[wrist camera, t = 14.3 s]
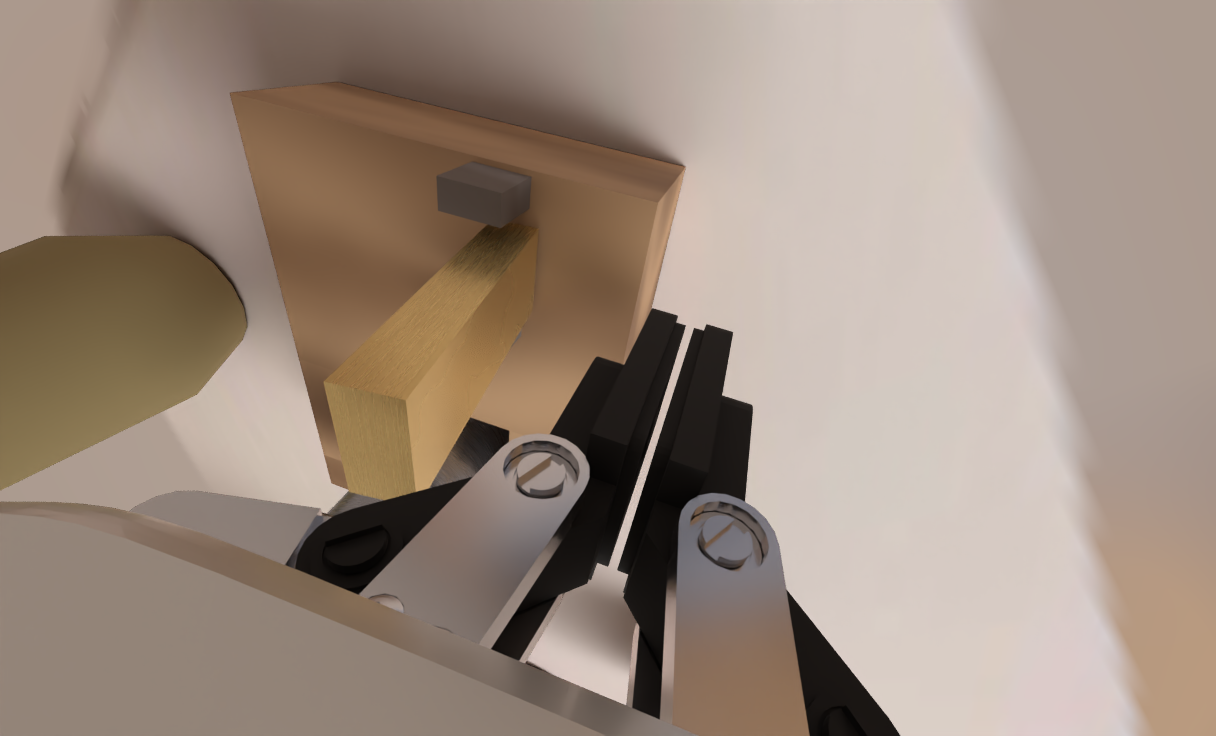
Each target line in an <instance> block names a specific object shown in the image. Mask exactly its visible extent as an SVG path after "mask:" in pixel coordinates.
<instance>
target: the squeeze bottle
mask: <svg viewBox="0 0 1216 736" xmlns="http://www.w3.org/2000/svg"><path fill="white" fill-rule="evenodd" d="M246 329H247V323H246V318H245V312H244V307H243V305H242V303H241V302H240V300H239V298H238V296H237V294H236V292H235V290H234V288H233V286H232V285H231V284H230V282H229V281H228V280H227V279H226V278H225V276H224V275H223V274H222V273H221V272H220V270H219V269H218V268H217V267H216V266H215V264H214V263H213V262H211V261H210V260H209V259H208V258H206V257H205V256H204V255H203V254H201V253H200V252H199V251H198V250H196V249H195V248H194V247H192V246H191V245H189V244H187V243H184V242H182V241H180V240H178V239H175V238H173V237H171V236H44V237H41V238H39V239H36V240H33V241H31V242H28V243H25V244H23V245H20V246H17V247H15V248H12V249H9V250H7V251H4V252H1V253H0V490H2V489H4V488H6V487H9V486H11V485H13V484H15V483H17V482H19V481H21V480H23V479H25V478H27V477H29V476H31V475H33V474H35V473H37V472H39V471H41V470H43V469H45V468H47V467H50V466H51V465H54V464H56V463H58V462H60V461H62V460H64V459H66V458H68V457H70V456H72V455H74V454H76V453H78V452H80V451H82V450H84V449H86V448H88V447H90V446H92V445H94V444H97V443H99V442H101V441H103V440H105V439H107V438H109V437H111V436H113V435H115V434H117V433H119V432H121V431H123V430H125V429H127V428H129V427H131V426H133V425H135V424H138V423H140V422H142V421H143V420H146V419H148V418H150V417H152V416H154V415H156V414H158V413H160V412H162V411H164V410H166V409H168V408H170V407H172V406H174V405H177V404H179V403H181V402H183V401H185V400H187V399H189V398H191V397H193V396H195V395H197V394H198V393H199V391H200V390H201V389H202V388H203V387H204V385H205V384H206V383H207V382H208V381H209V379H210V378H211V377H212V376H213V375H214V373H215V372H216V371H217V370H218V369H219V367H220V366H221V365H222V364H223V363H224V361H225V360H226V359H227V358H228V357H229V356H230V354H231V353H232V352H233V351H234V350H235V348H236V347H237V346H238V345H239V344H240V342H241V341H242V340H243V337H244V334H245V332H246Z"/></svg>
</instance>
